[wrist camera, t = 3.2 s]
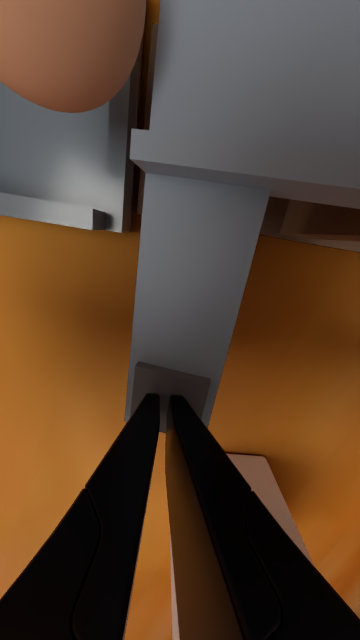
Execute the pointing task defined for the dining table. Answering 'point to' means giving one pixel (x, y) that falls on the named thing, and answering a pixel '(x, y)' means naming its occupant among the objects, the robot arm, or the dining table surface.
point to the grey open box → (70, 160)
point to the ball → (69, 50)
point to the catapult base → (282, 202)
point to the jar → (271, 497)
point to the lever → (232, 169)
